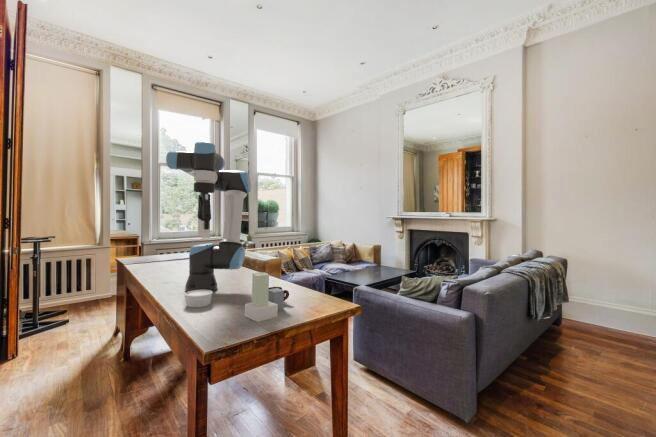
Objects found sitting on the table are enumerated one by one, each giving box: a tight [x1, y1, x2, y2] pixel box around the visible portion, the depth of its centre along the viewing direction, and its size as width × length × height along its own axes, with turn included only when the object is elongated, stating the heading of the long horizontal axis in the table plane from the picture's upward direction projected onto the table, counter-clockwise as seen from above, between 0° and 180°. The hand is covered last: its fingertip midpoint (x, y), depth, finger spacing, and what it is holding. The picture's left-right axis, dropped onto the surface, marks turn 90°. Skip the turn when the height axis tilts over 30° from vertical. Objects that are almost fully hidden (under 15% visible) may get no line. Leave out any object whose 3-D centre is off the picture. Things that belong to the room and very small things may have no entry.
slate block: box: [268, 288, 285, 311], centre depth 127 cm, size 5×5×8 cm
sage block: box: [251, 271, 270, 307], centre depth 118 cm, size 5×5×12 cm
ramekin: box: [184, 289, 214, 309], centre depth 130 cm, size 11×11×5 cm
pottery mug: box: [269, 286, 290, 302], centre depth 136 cm, size 12×10×8 cm
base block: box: [244, 301, 279, 323], centre depth 118 cm, size 9×9×5 cm
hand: (203, 236), depth 118 cm, fingers open, 13 cm apart
